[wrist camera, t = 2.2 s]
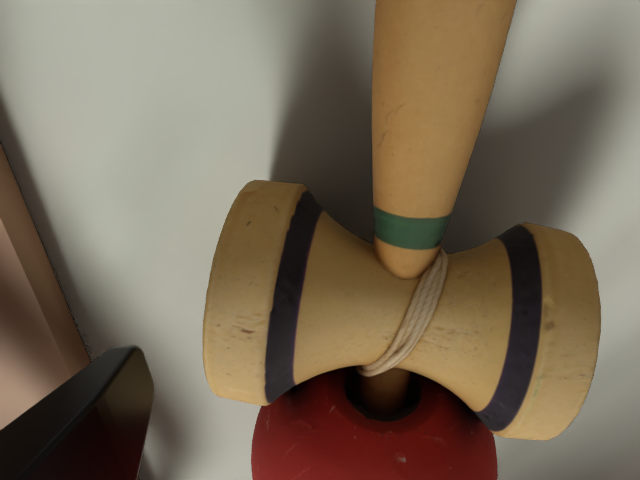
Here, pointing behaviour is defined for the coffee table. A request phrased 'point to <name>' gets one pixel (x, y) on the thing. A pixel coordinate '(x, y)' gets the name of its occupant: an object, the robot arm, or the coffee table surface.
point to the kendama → (401, 289)
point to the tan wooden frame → (30, 311)
